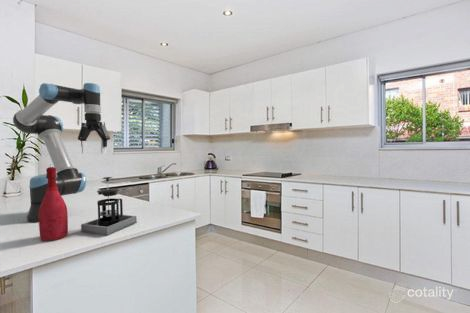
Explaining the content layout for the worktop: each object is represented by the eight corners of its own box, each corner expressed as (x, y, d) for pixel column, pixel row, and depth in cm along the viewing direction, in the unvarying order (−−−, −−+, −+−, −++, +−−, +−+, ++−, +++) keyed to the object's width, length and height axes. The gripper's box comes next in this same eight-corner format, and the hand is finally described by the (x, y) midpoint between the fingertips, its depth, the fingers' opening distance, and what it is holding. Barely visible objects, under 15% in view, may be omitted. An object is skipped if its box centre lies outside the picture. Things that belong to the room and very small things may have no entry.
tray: (81, 232, 111) (81, 224, 110) (113, 220, 128) (112, 213, 127) (107, 235, 106) (106, 227, 106) (136, 223, 123) (136, 216, 123)
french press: (102, 230, 109) (100, 179, 108) (92, 226, 115) (90, 177, 113) (127, 223, 118) (125, 176, 117) (117, 220, 124) (115, 175, 123)
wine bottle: (49, 233, 109) (46, 166, 107) (73, 232, 110) (70, 165, 108) (33, 242, 99) (29, 168, 98) (59, 241, 100) (56, 168, 98)
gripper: (69, 113, 132) (70, 153, 133) (105, 111, 123) (106, 153, 124) (81, 115, 139) (83, 152, 140) (116, 113, 130) (117, 152, 132)
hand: (94, 153), depth 132 cm, fingers open, 13 cm apart
